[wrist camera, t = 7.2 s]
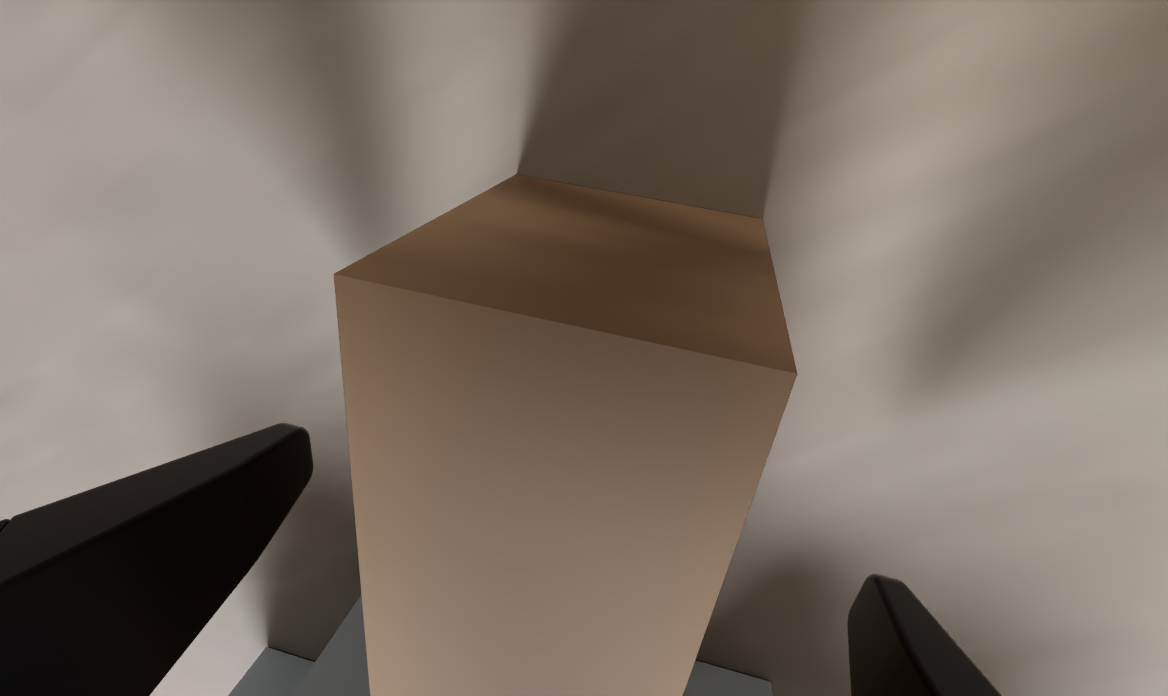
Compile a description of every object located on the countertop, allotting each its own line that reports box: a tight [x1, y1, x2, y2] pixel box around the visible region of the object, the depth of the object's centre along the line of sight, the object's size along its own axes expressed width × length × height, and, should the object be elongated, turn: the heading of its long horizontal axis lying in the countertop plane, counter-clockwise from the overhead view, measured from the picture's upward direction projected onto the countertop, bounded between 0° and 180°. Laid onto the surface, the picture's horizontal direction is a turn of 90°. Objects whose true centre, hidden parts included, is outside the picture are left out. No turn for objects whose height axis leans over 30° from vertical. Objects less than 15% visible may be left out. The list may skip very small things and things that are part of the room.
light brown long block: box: [334, 174, 797, 696], centre depth 10 cm, size 4×14×5 cm, turn 173°
